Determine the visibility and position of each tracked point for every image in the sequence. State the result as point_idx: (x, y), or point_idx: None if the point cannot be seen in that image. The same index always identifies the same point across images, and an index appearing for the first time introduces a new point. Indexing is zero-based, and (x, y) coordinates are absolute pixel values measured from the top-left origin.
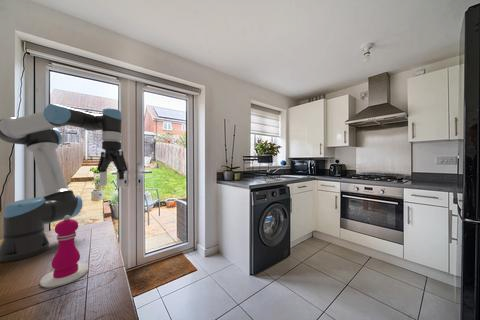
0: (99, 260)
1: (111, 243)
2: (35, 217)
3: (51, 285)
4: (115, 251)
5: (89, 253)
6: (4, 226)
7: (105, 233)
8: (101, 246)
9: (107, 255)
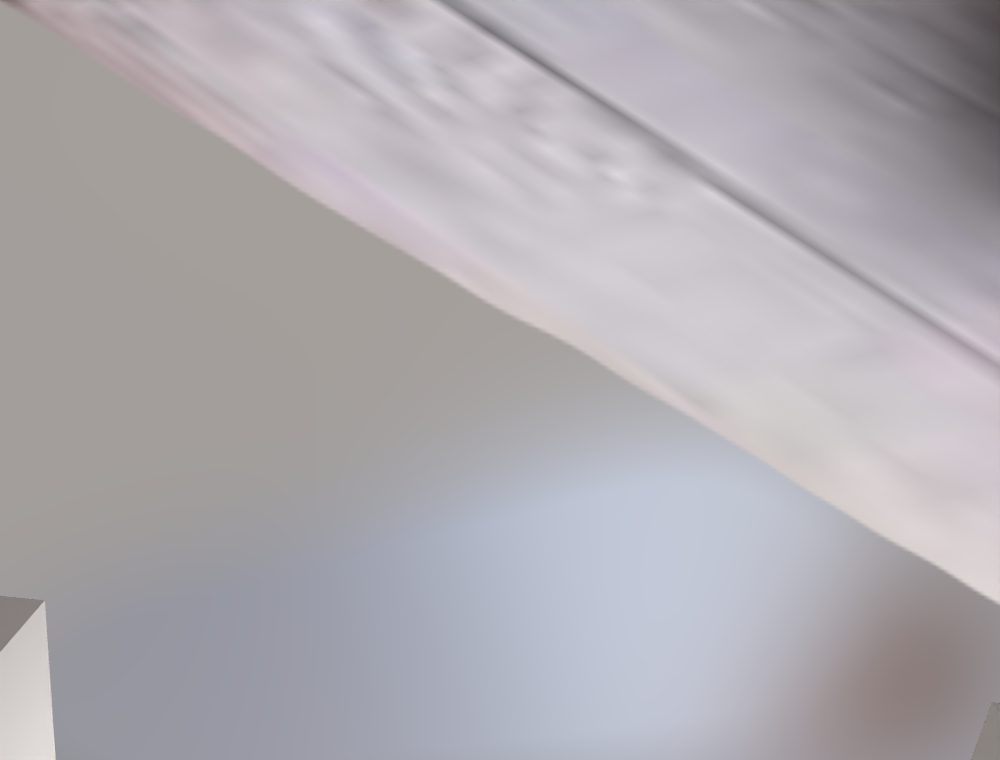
0: (318, 16)
1: (591, 326)
2: None
3: None
4: (360, 206)
5: (578, 83)
6: None
7: (934, 494)
8: (624, 240)
9: (350, 117)
